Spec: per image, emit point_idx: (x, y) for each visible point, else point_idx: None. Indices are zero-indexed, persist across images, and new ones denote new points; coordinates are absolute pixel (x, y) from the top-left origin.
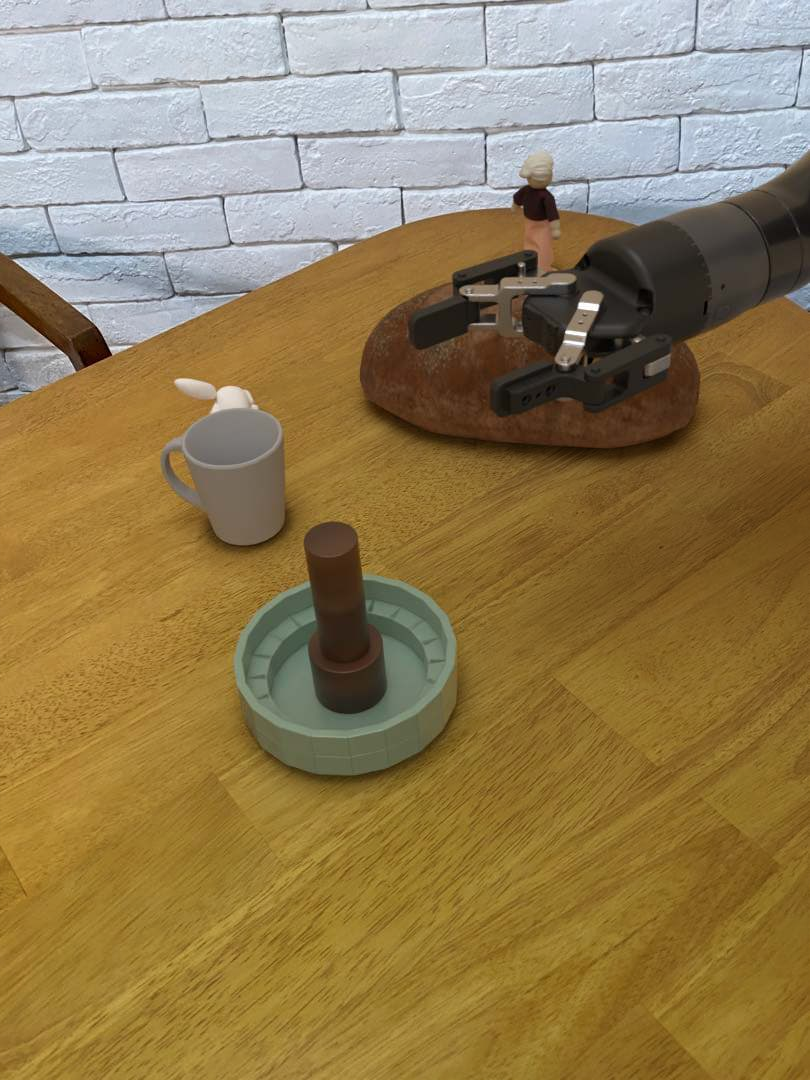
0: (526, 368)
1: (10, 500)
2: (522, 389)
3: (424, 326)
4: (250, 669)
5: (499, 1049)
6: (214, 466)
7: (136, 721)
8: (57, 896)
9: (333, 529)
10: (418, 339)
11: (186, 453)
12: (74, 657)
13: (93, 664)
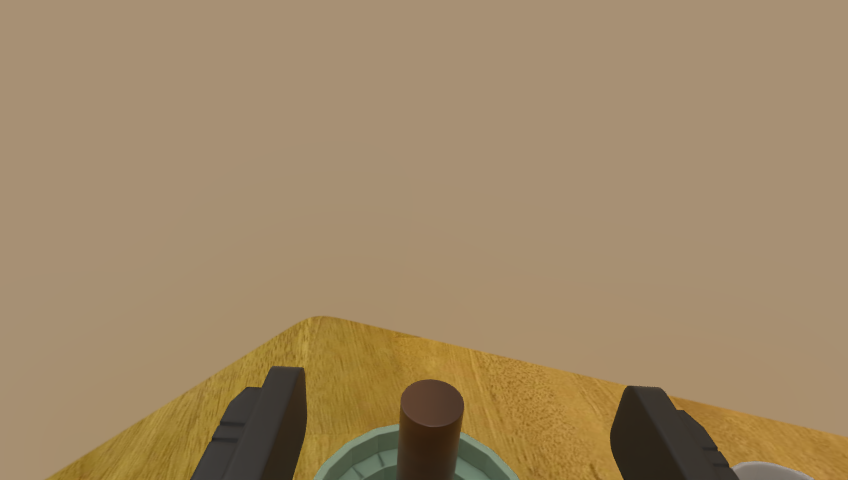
0: (263, 434)
1: (792, 425)
2: (233, 410)
3: (632, 420)
4: (468, 464)
5: (73, 473)
6: None
7: (485, 412)
8: (383, 345)
9: (444, 409)
10: (617, 426)
11: (759, 462)
12: (569, 403)
13: (556, 410)
